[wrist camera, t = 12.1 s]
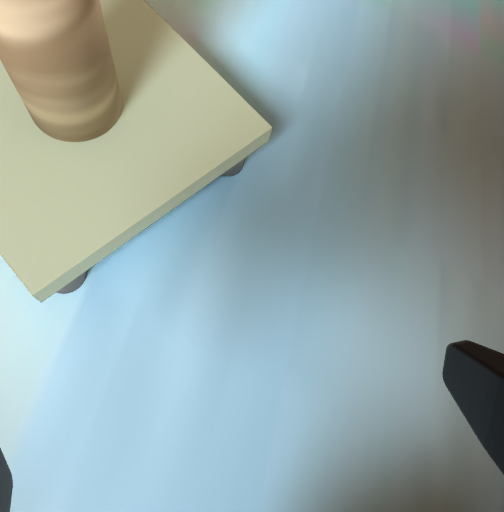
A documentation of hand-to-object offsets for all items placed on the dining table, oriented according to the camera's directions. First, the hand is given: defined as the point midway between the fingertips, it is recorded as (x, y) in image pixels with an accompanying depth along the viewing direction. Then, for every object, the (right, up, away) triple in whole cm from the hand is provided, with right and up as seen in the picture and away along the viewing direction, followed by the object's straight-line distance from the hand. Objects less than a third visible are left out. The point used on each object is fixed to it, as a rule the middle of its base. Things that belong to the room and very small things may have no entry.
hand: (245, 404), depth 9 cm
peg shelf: (-9, +9, +17) cm, 21 cm away
